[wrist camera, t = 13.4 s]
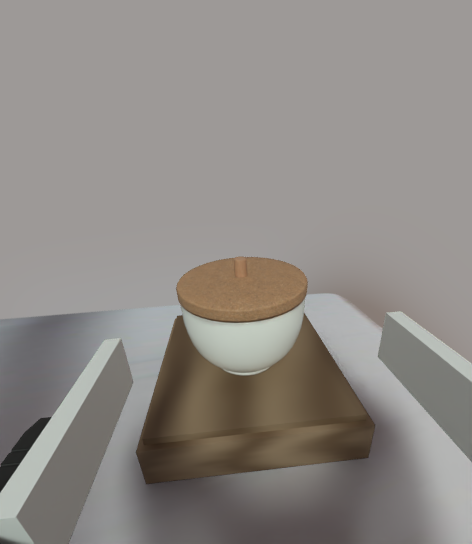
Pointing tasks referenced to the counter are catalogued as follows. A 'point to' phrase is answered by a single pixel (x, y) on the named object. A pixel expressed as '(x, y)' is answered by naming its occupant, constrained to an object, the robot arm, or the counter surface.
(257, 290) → the lidded jar
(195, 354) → the walnut stand
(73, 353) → the counter surface
